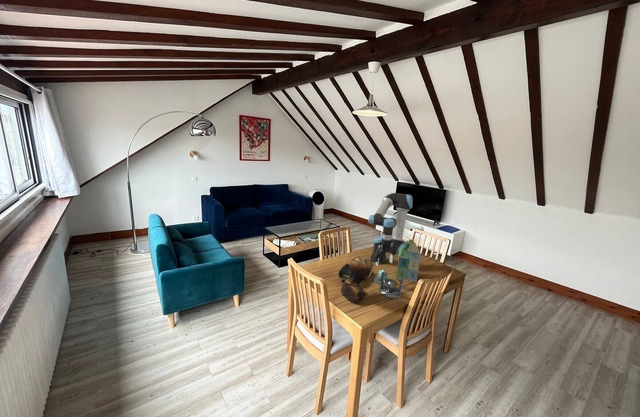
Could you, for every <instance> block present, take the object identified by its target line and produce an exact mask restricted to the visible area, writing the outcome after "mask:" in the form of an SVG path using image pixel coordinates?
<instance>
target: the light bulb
mask: <svg viewBox="0 0 640 417" xmlns="http://www.w3.org/2000/svg"><path fill="white" fill-rule="evenodd" d="M382 272H386V273H388V271H387V270H385V269H379V270H378V274H377V275H378V280H379V281H381V276H382ZM387 278H388V275H387V276H384V283H385V281H386V279H387Z"/></svg>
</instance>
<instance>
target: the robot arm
mask: <svg viewBox="0 0 640 417" xmlns="http://www.w3.org/2000/svg"><path fill="white" fill-rule="evenodd" d="M393 206H394V207H395V209H396V210H397V212H396V216H395V217H385V215H386V214H387V212H388V210H389V209H390V208H391V207H393ZM412 208H413V196H412V195H411V194H406V193H398V192H391V193H388V194H387V195H386V196H384V197H383V199H382V200H381V203H380V205H379V207H378V208H377V210H376V211H375V213H374V214H370V215H369V217H368V223H369V224H370V225H373V226H379V227H382V235H378V236H376V237H374V240H373V250H372V252H371V256H370V258H369V259H370V260H371V261H372V263H374V264H375V265H376V266H377V267H379V265H385V264H386V263H387V262H388V257H387V253H388V254H390V256H389V263H391V264H393V261H394V256H396V255H399V249H400V248H401V247H402V246H403V245H404V244H405V243H406V242H404V237H403V236H404V232H405V225H406V220H407V216H408V212H410V209H412Z"/></svg>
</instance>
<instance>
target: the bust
mask: <svg viewBox="0 0 640 417" xmlns="http://www.w3.org/2000/svg"><path fill="white" fill-rule="evenodd" d="M373 263H374V262H372V261H371V260H370V258H368V257H367V256H364V255H358V256H355V257H353V258H352V259H351V260H350V262H349V263H348V264H349V266H348V267H349V270H350V273H351V276H350V277H349V279H348V280H343V281H344V282H343V284H342V286H341V289H340V293H341V295H342V296H343V297H344V298H345V299H346V300H347V301H348V302H349V303H351V304H355V305H356V303H358V302H360V301H362V300H364V299H365V297H367V294H368V293H367V292H366V291H364V289H363V287H362V286H361V283H362V282H366V281H367V280H368V279H369V278H368V276H369V274H370V272H371V271H372V269H373V267H374V264H373Z"/></svg>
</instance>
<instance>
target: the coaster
mask: <svg viewBox="0 0 640 417" xmlns="http://www.w3.org/2000/svg"><path fill="white" fill-rule="evenodd" d="M389 280H393V281H394V279H393V278H389V277H387V279H386V281H385V283H384V284H383V286H384V285H388V281H389ZM370 281H371V282H373V283H376V284H377V285H380V284H381V281H379V280H378V274H377V275H375V276H374V277H373V278H371V279H370Z"/></svg>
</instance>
